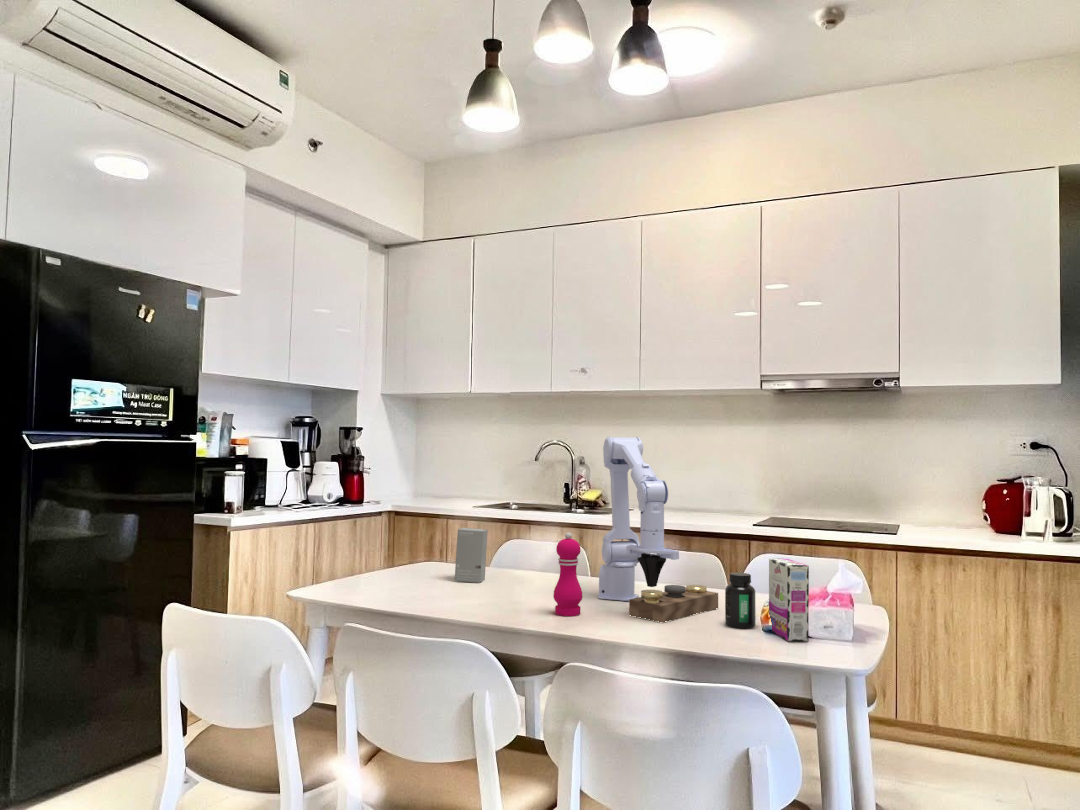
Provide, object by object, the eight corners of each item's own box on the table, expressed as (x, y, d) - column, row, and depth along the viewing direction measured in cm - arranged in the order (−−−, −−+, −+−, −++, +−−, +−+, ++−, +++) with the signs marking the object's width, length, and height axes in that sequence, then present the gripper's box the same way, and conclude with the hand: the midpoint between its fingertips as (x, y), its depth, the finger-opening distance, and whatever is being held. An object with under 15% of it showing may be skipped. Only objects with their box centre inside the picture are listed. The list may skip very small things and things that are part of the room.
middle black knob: (677, 609, 186) (677, 589, 186) (660, 605, 189) (660, 586, 190) (689, 606, 189) (689, 587, 190) (672, 603, 193) (672, 584, 193)
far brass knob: (699, 608, 192) (699, 589, 193) (682, 605, 196) (682, 586, 196) (710, 605, 196) (710, 586, 196) (693, 602, 200) (693, 584, 200)
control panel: (662, 623, 177) (662, 605, 178) (629, 615, 185) (629, 599, 185) (718, 608, 194) (718, 592, 194) (685, 602, 201) (685, 587, 201)
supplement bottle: (750, 630, 171) (750, 577, 172) (721, 626, 175) (721, 574, 175) (759, 625, 177) (758, 573, 177) (730, 621, 180) (730, 570, 181)
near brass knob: (653, 615, 179) (654, 594, 179) (636, 611, 183) (636, 591, 183) (666, 611, 183) (667, 591, 183) (649, 608, 186) (649, 588, 187)
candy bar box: (810, 642, 162) (810, 565, 162) (787, 642, 161) (787, 565, 162) (788, 629, 173) (788, 557, 174) (767, 629, 172) (767, 557, 173)
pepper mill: (585, 611, 188) (586, 531, 189) (577, 618, 182) (578, 534, 183) (558, 609, 191) (559, 530, 192) (549, 615, 184) (550, 533, 185)
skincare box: (454, 582, 227) (455, 529, 227) (460, 578, 234) (461, 526, 235) (481, 583, 225) (482, 530, 226) (487, 579, 232) (488, 527, 233)
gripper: (618, 528, 186) (618, 584, 185) (666, 533, 176) (666, 592, 175) (636, 526, 191) (636, 580, 190) (684, 531, 181) (684, 588, 180)
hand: (651, 586), depth 183 cm, fingers closed
